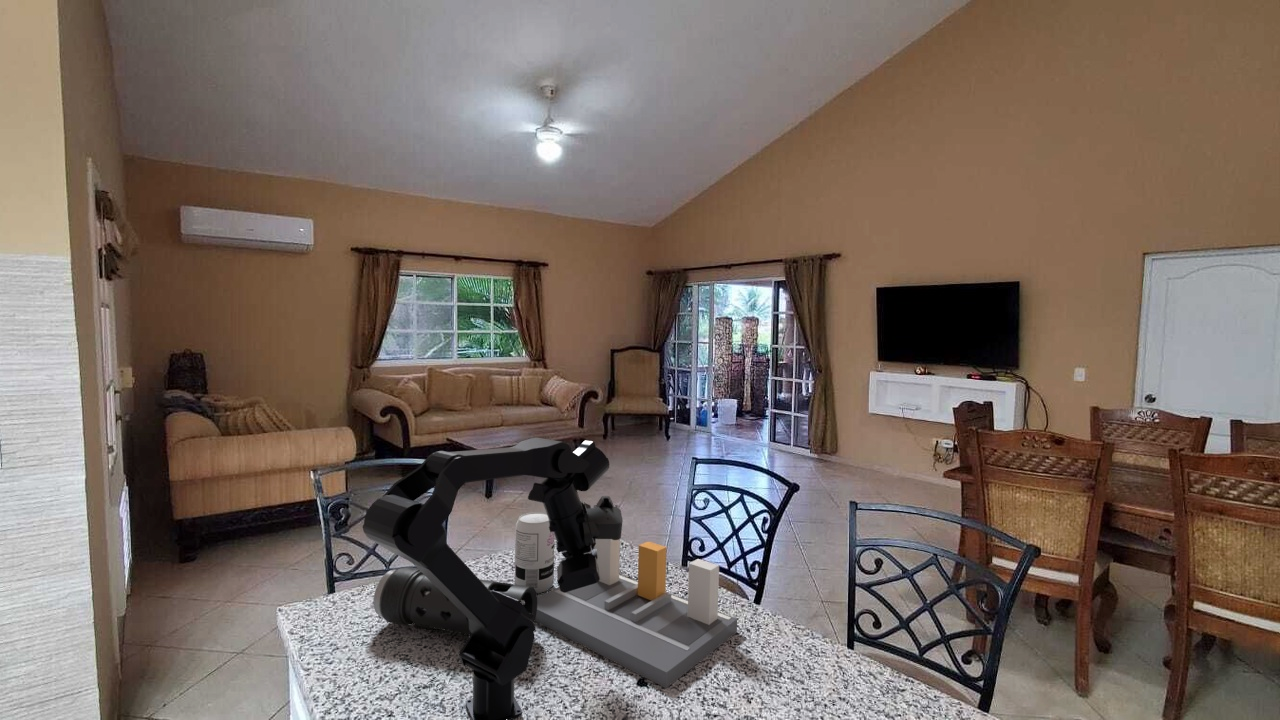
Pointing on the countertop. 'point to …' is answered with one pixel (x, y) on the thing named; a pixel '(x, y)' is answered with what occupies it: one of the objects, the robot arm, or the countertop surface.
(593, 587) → the slotted gray tray
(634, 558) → the countertop surface
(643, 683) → the countertop surface
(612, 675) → the countertop surface
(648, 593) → the orange tall block
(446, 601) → the muzzle brake
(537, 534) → the supplement can
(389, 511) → the robot arm
